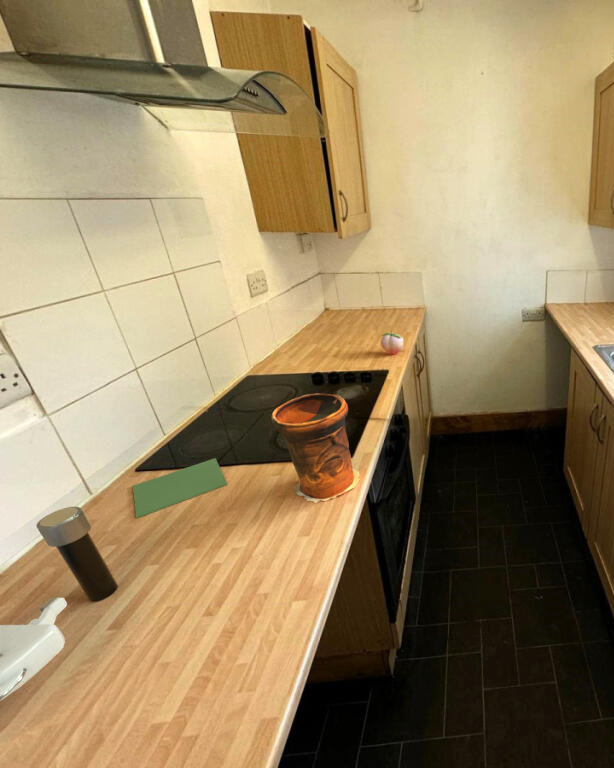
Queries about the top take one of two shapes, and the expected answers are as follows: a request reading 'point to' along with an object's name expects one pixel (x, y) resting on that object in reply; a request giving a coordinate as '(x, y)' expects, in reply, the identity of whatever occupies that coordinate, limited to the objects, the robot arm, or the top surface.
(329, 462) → the vessel
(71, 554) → the torch
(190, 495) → the cloth
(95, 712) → the top surface
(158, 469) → the top surface
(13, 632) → the robot arm
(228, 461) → the top surface
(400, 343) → the decorative fruit
